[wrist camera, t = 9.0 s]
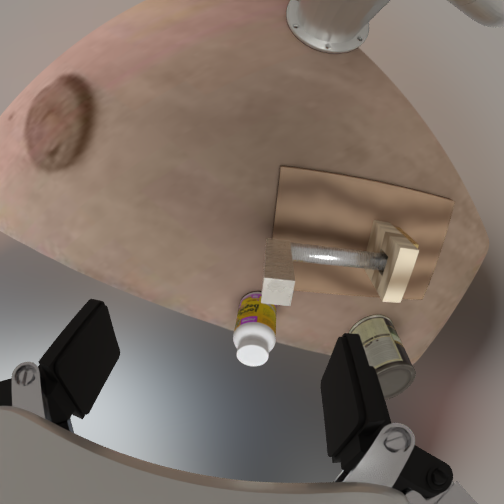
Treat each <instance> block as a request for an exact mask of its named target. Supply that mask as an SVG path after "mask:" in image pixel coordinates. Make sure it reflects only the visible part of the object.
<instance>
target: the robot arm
mask: <svg viewBox="0 0 504 504" xmlns="http://www.w3.org/2000/svg"><path fill="white" fill-rule="evenodd" d="M389 1H390V0H298V1H296V0H290V2H289V4H288V6H287V11H286V18H287V23H288V25H289V28H290V29H291V31H292V32H293V34H294V35H295V36H296V37H297V38H298V39H299V40H300V41H302V42H303V43H304V44H306V45H308V46H309V47H311V48H313V49H316V50H319V51H322V52H326V53H334V54H338V53H346V52H350V51H352V50H354V49H357V48H358V47H359V46H360V45H361V44H363V42H364V41H365V39H366V38H367V36H368V32H369V21H370V20H371V19H372V18H373V17H374V16H375V15H376V14H377V13H378V12H379V11H380V10H381V9H382V8H383V7H384V6H385V5H386V4H387V3H388V2H389ZM447 1H449V2H450V3H452V4H453V5H454V6H455V7H457V8H458V9H459V10H460V11H462V12H463V13H464V14H466V15H467V16H468V17H470V18H471V19H472V20H474V21H476V22H478V23H480V24H482V25H484V26H488V27H502V26H504V0H447ZM294 27H297V29H296V28H294ZM357 39H358V40H359V41H358V40H357ZM325 47H328V49H326V48H325ZM119 356H120V349H119V346H118V343H117V340H116V337H115V333H114V330H113V326H112V322H111V319H110V315H109V311H108V308H107V306H105V304H104V302H103V301H99V300H94V299H90V300H89V301H88V302H87V303H86V304H85V305H84V306H83V308H82V309H81V310H80V311H79V312H78V313H77V315H76V316H75V317H74V318H73V319H72V320H71V322H70V323H69V324H68V325H67V326H66V328H65V329H64V330H63V331H62V332H61V334H60V335H59V336H58V337H57V339H56V340H55V341H54V342H53V344H52V345H51V347H49V349H48V350H47V351H46V353H45V354H44V355H43V357H42V358H41V359H40V361H39V364H40V365H39V366H38V367H37V366H36V365H35V364H34V363H31V362H24V363H21V364H20V365H18V366H17V367H16V368H15V369H14V371H13V373H12V378H11V379H8V380H4V381H1V382H0V504H477V502H476V501H475V500H474V499H473V498H472V497H471V496H470V495H469V494H468V493H467V492H466V490H465V489H464V488H463V487H462V486H461V485H460V484H459V483H458V482H455V483H454V482H453V481H452V480H453V473H452V469H451V468H450V466H449V465H447V464H446V463H445V462H443V461H441V460H440V459H438V458H436V457H434V456H432V455H431V454H429V453H427V452H426V451H424V450H422V449H420V448H419V447H417V446H415V437H414V435H413V432H412V431H411V430H410V428H408V427H407V426H406V425H403V424H400V423H392V424H391V421H390V417H389V413H388V409H387V406H386V402H385V399H384V395H383V392H382V389H381V385H380V382H379V379H378V376H377V373H376V370H375V368H374V367H373V366H369V363H368V359H367V356H366V353H365V350H364V347H363V344H362V341H361V338H360V335H359V334H350V333H344V334H343V336H342V337H339V338H338V340H337V342H336V345H335V347H334V350H333V353H332V355H331V358H330V360H329V363H328V365H327V368H326V370H325V373H324V375H323V377H322V380H321V394H322V402H323V410H324V420H325V430H326V441H327V452H328V456H329V457H332V461H333V463H337V462H341V468H342V469H343V471H342V472H341V473H340V474H339V475H338V477H337V478H336V479H335V481H333V482H332V483H331V482H330V483H269V482H252V481H242V480H233V479H225V478H218V477H211V476H206V475H200V474H195V473H190V472H185V471H181V470H176V469H172V468H168V467H164V466H160V465H157V464H153V463H150V462H146V461H143V460H140V459H137V458H134V457H131V456H128V455H125V454H122V453H119V452H117V451H114V450H111V449H109V448H106V447H103V446H101V445H99V444H96V443H94V442H92V441H89V440H87V439H85V438H83V437H81V436H78V435H76V434H74V431H73V427H72V424H71V419H70V417H71V415H72V414H73V415H75V416H77V417H79V418H81V419H83V418H84V416H85V414H88V413H89V412H90V410H91V408H92V406H93V404H94V402H95V401H96V399H97V397H98V395H99V393H100V391H101V389H102V387H103V386H104V384H105V382H106V380H107V378H108V376H109V375H110V373H111V371H112V369H113V367H114V366H115V364H116V362H117V360H118V359H119Z"/></svg>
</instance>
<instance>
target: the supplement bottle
mask: <svg viewBox="0 0 504 504" xmlns="http://www.w3.org/2000/svg"><path fill="white" fill-rule="evenodd" d="M261 295H262V292H252V293H249V294H247V295H246V296H244V297H243V299H242V300H241V302H240V305H239V310H238V315H237V320H236V325H235V330H234V335H233V341H234V344H235V346H236V348H237V358H238V359H239V361H240V362H242V363H243V364H245V365H249V366H259V365H262V364H264V363H265V362H266V361H267V360H268V357H269V352H270V351H271V350H272V348H273V347H274V345H275V341H276V305H274V304H265V303H261Z"/></svg>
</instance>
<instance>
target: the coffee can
mask: <svg viewBox="0 0 504 504" xmlns="http://www.w3.org/2000/svg"><path fill="white" fill-rule="evenodd" d="M349 333H350V334H359V335H360V338H361V341H362V344H363V347H364V350H365V353H366V356H367V359H368V363H369V366H373V367H374V368H375V370H376V373H377V376H378V379H379V382H380V385H381V389H382V392H383V395H384V399H385V400H387V399H390V398H393V397H395V396H397V395H398V394H400V393H402V392H403V391H404V390H405V389H407V388H408V387H409V386H410V385H411V383H412V382H413V380H414V378H415V374H416V372H415V369H414V367H413V366H412V364H411V362H410V360H409V358H408V355H407V353H406V351H405V349H404V347H403V345H402V343H401V341H400V339H399V337H398V335H397V332H396V330H395V328H394V326H393V324H392V322H391V320H390V319H389V318H388V317H386V316H383V315H372V316H368V317H366V318H363V319H362V320H360V321H359V322H357V323H356V324H355V325H354V326H353V327H352V328H351V330H350V332H349Z"/></svg>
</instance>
